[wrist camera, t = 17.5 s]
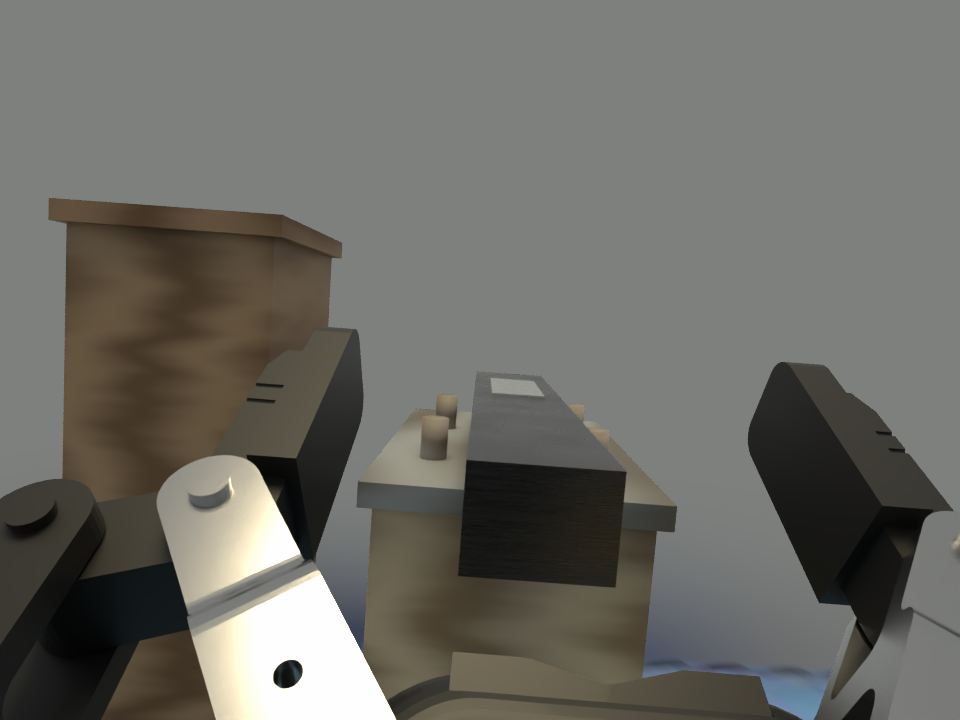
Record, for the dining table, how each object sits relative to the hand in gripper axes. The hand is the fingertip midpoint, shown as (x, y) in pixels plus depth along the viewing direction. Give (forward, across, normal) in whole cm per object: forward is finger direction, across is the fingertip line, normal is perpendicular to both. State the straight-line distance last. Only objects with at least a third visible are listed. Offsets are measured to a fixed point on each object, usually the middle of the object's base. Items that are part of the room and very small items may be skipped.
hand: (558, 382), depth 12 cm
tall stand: (+5, +17, +34) cm, 38 cm away
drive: (+9, 0, +12) cm, 15 cm away
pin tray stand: (+3, 0, +33) cm, 33 cm away
